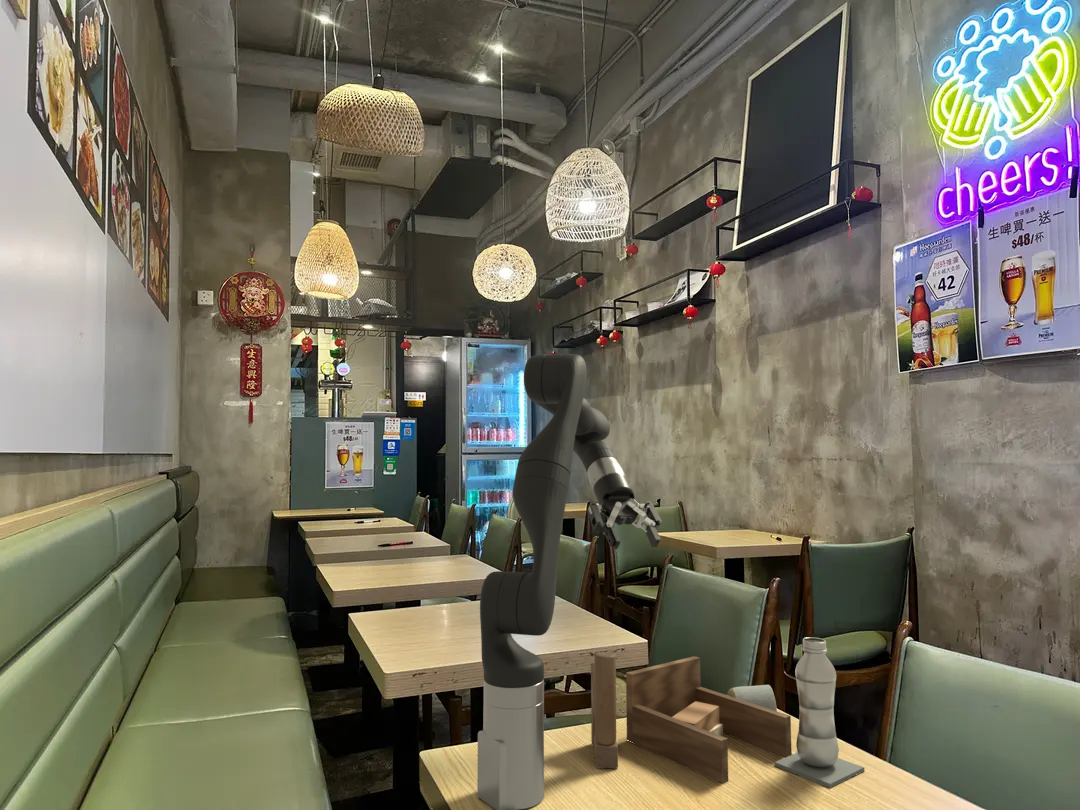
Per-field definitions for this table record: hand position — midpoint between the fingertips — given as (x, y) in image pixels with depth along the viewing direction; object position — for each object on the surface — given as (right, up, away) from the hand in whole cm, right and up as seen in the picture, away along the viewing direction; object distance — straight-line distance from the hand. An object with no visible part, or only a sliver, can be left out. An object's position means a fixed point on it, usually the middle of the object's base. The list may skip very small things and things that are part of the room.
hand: (637, 545), depth 137 cm
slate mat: (+27, -33, -20) cm, 47 cm away
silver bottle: (+27, -32, -19) cm, 47 cm away
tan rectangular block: (+9, -34, -10) cm, 36 cm away
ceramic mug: (+22, -35, -2) cm, 41 cm away
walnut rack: (+11, -33, -12) cm, 37 cm away
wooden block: (-8, -33, -15) cm, 37 cm away
